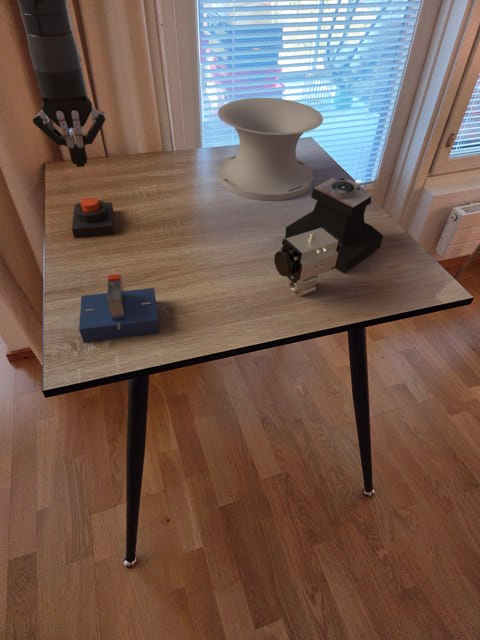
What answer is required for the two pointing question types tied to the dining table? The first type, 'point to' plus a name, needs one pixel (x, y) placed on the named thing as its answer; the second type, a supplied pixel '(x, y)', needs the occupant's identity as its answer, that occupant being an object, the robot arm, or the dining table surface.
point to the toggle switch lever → (116, 297)
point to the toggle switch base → (136, 321)
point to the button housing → (93, 221)
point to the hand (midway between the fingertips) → (81, 165)
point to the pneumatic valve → (308, 258)
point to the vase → (267, 148)
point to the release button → (90, 204)
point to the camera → (341, 220)
